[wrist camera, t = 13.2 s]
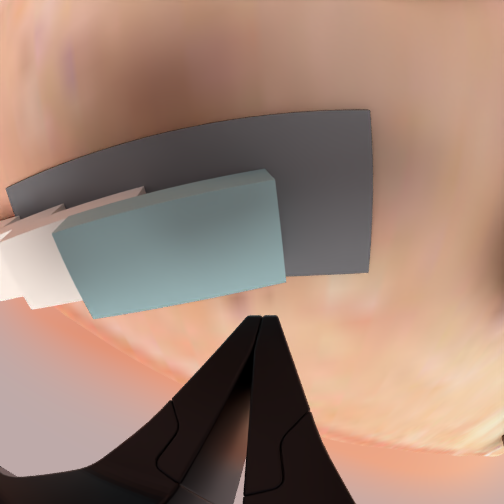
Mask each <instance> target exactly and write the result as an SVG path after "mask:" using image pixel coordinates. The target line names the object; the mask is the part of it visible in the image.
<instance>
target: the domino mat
mask: <svg viewBox="0 0 504 504" xmlns="http://www.w3.org/2000/svg"><path fill="white" fill-rule="evenodd" d="M259 169H266V170H267V171H268V173H269V174H270V175H271V176H272V177H273V178H274V179H275V184H276V192H277V200H278V209H279V218H280V227H281V236H282V245H283V255H284V265H285V275H286V276H310V275H332V274H353V273H368V271H369V260H370V246H371V229H372V201H373V161H372V133H371V117H370V110H325V111H307V112H293V113H282V114H272V115H263V116H255V117H247V118H240V119H233V120H227V121H221V122H215V123H209V124H204V125H198V126H193V127H188V128H183V129H179V130H174V131H170V132H165V133H161V134H157V135H153V136H149V137H145V138H141V139H138V140H134V141H130V142H127V143H123V144H120V145H117V146H113V147H110V148H107V149H104V150H100V151H97V152H94V153H91V154H88V155H85V156H83V157H80V158H77V159H74V160H71V161H69V162H66V163H63V164H61V165H58V166H56V167H53V168H51V169H48V170H46V171H43V172H41V173H38V174H36V175H34V176H31V177H29V178H27V179H25V180H22V181H20V182H18V183H16V184H14V185H12V186H10V187H8V188H6V191H7V194H8V197H9V200H10V203H11V206H12V209H13V212H14V214H15V216H20V219H24V218H26V217H29V216H31V215H34V214H36V213H39V212H41V211H44V210H47V209H49V208H52V207H55V206H57V205H60V204H63V203H64V205H65V208H66V209H69V208H72V207H75V206H78V205H81V204H84V203H87V202H90V201H93V200H97V199H100V198H103V197H107V196H110V195H113V194H117V193H120V192H124V191H127V190H131V189H135V188H138V187H142V186H144V188H145V192H146V194H147V193H151V192H155V191H159V190H163V189H167V188H171V187H175V186H180V185H184V184H189V183H193V182H198V181H202V180H207V179H212V178H217V177H222V176H227V175H232V174H237V173H243V172H248V171H254V170H259Z"/></svg>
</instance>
